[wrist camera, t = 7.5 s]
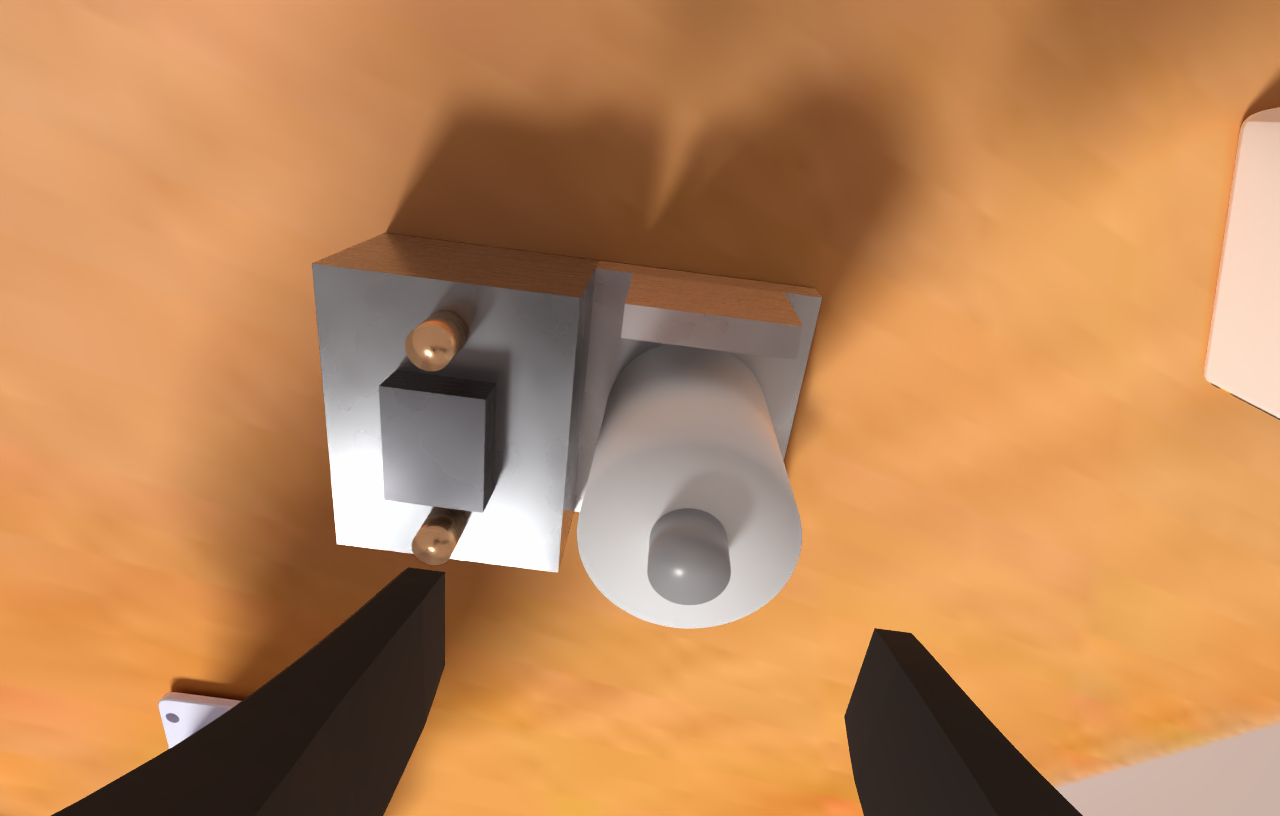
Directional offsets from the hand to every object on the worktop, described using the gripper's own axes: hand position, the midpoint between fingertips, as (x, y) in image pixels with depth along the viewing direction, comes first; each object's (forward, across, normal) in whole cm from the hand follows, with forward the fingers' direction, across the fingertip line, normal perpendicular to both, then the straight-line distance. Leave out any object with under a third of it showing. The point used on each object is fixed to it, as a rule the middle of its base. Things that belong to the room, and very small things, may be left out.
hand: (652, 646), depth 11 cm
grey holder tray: (+10, +2, 0) cm, 10 cm away
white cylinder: (+9, -1, 0) cm, 9 cm away
